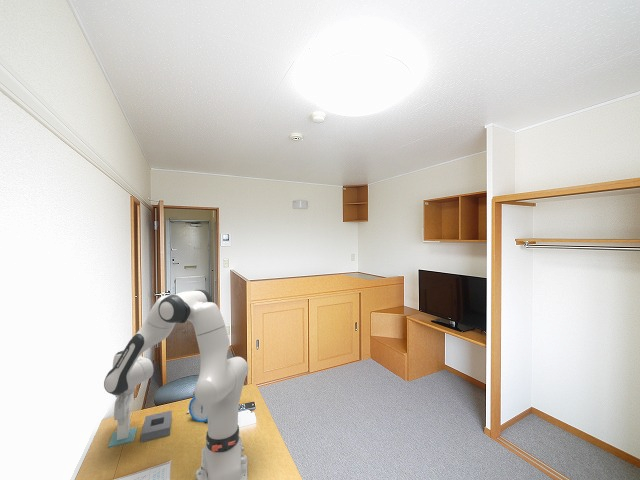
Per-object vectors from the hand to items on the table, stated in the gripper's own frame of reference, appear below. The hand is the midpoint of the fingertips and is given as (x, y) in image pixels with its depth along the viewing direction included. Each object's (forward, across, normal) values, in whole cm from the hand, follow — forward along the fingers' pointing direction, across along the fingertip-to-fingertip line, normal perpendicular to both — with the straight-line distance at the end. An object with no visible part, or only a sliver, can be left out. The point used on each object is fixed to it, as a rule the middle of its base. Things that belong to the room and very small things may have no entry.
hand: (123, 418), depth 123 cm
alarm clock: (+9, 0, -33) cm, 34 cm away
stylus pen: (+9, +13, -29) cm, 33 cm away
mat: (+9, 0, 0) cm, 9 cm away
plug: (+8, 0, 0) cm, 8 cm away
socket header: (+9, 0, -13) cm, 16 cm away
